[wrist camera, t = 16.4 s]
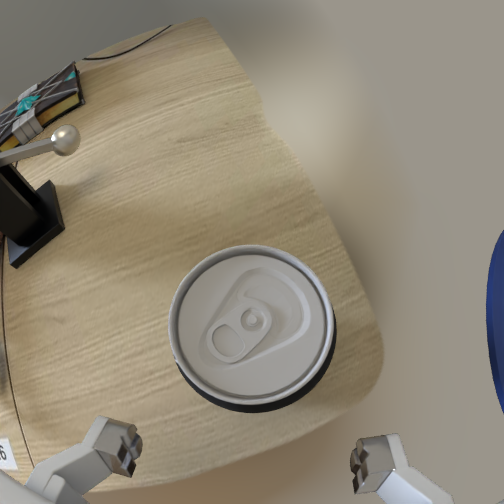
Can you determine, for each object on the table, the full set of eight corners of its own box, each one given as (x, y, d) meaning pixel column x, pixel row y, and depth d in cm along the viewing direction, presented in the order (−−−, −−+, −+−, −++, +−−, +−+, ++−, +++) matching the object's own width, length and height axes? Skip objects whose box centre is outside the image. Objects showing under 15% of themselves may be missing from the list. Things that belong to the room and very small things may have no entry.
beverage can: (324, 357, 20) (382, 322, 9) (256, 417, 19) (239, 455, 8) (263, 295, 23) (257, 204, 12) (197, 350, 21) (124, 309, 10)
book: (80, 72, 44) (71, 54, 39) (88, 103, 37) (76, 80, 33) (-2, 130, 40) (-13, 114, 35) (-12, 176, 33) (-27, 158, 29)
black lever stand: (54, 185, 30) (-1, 112, 18) (65, 229, 27) (-8, 151, 15) (10, 221, 28) (-50, 161, 16) (16, 269, 25) (-62, 209, 13)
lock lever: (78, 142, 26) (78, 116, 23) (83, 158, 25) (82, 130, 22) (-29, 176, 18) (-35, 150, 16) (-31, 195, 17) (-40, 168, 15)
